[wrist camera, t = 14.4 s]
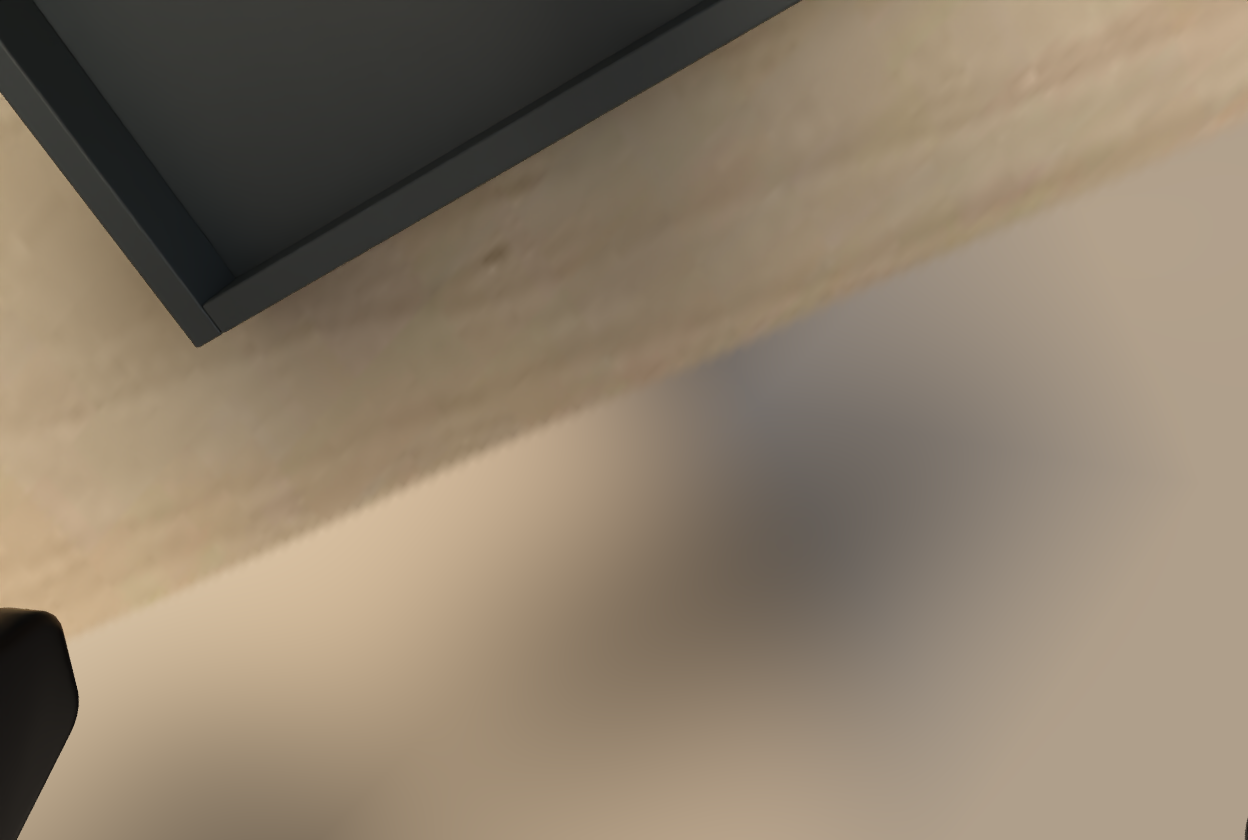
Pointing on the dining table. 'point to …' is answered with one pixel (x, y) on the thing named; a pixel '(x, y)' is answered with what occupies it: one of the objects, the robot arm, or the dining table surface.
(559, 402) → the dining table surface
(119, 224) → the rectangular tray
